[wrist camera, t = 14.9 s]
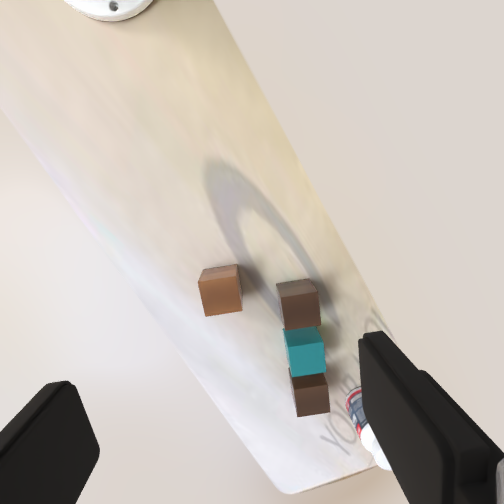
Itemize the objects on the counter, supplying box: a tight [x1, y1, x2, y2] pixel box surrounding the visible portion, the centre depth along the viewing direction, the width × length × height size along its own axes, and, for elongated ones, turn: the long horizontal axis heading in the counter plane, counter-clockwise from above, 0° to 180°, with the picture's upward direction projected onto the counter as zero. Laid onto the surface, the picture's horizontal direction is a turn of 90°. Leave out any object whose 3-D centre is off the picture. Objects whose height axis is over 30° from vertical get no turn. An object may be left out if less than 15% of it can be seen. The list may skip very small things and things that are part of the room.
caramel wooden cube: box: [198, 264, 243, 317], centre depth 34 cm, size 4×4×4 cm
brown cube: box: [288, 367, 330, 417], centre depth 38 cm, size 4×4×4 cm
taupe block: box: [276, 279, 321, 331], centre depth 35 cm, size 4×4×4 cm
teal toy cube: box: [283, 326, 326, 377], centre depth 36 cm, size 4×4×4 cm
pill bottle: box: [345, 387, 392, 470], centre depth 37 cm, size 5×5×9 cm
